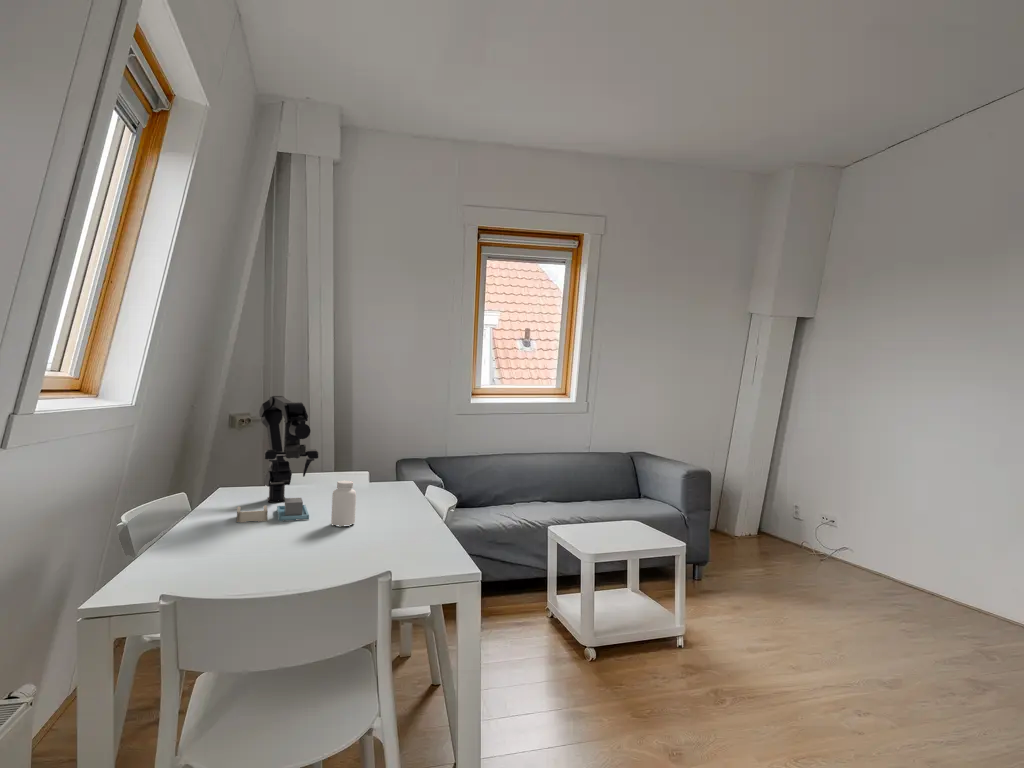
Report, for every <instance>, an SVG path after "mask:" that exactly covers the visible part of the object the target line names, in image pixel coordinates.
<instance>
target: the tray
mask: <svg viewBox="0 0 1024 768" xmlns="http://www.w3.org/2000/svg"><path fill="white" fill-rule="evenodd" d="M284 507H285V505H277V506H276V512H278V513H277V518H279V519H278V522H284V521H283V520H294V521H297V520H296V519H310V514H309V511H308V508H307V506H306V504H303V511H302V515H293V516H285V515H284Z"/></svg>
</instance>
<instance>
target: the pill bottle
mask: <svg viewBox="0 0 1024 768" xmlns="http://www.w3.org/2000/svg"><path fill="white" fill-rule="evenodd" d="M336 485H337V487H336V489H334V490H333V492H332V497H331V498H332V499H331V520H330V521H331V525H332V524H333V525H339V526H344V525H350V524H353V523H356V509H357V508H356V505H357V492H356V490H355V489H353V487H354V482H353V481H351V480H338V481H336ZM333 525H332V526H333Z"/></svg>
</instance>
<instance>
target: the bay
mask: <svg viewBox="0 0 1024 768" xmlns="http://www.w3.org/2000/svg"><path fill="white" fill-rule="evenodd" d="M268 514H269V513H268V506H267V504H266V505H263V510H248V511H244V510H243V511H241V506H237V509H236V523H237V522H240V523H247V522H246V521H258V522H268Z"/></svg>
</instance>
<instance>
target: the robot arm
mask: <svg viewBox="0 0 1024 768" xmlns="http://www.w3.org/2000/svg"><path fill="white" fill-rule="evenodd" d="M259 417H260V418H261V423H262V424H263V425H264V426H265V428H266V433H267V439H268V447H269V449H266V450H264V459H265V460H268V462H269V466H268V468H267V473H266V474H265V477H264V479H263V481H264V483H263V485H265V486H266V487H268V488H269V489H268V496H267V498H266V500H267V503H277V502H283V501H284V502H285V498H286V497H285V490H286V489H285V488H286V486H290V485H291V481H292V475H293V473H292V470H291V466H290V462H289V461H288V460H285V458H286V459H299V458H300V457H305V458H304V462H303V471H302V477H305V476H306V475H307V474H306V473H307V471H308V468H309V467H310V464H311V463H312V462H315V459H319V451H318V450H317V449H315V448H313V449H311V448H310V449H308V448H307V445H306V444H301V440H304V439H307V438H308V437H309V436H310V434H311V427H310V426H309V425H308V424H307V423H306V422H308V419H309V415H308V412H307V409H306V407H305V405H304V403H303V402H300V401H299V402H298V401H297V402H295V401H291V400H289V399H287V398H286V397H285V396H282V395H271V396H270V397H269V399H267V400H266V401H265V402H264V403H262V404H261V406H260V408H259ZM283 419H284V420H283ZM282 420H283V422H284V434H283V435H284V440H283V444H282V437H281V429H280V423H281V422H282ZM284 457H285V458H284ZM284 502H283V503H284Z"/></svg>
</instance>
